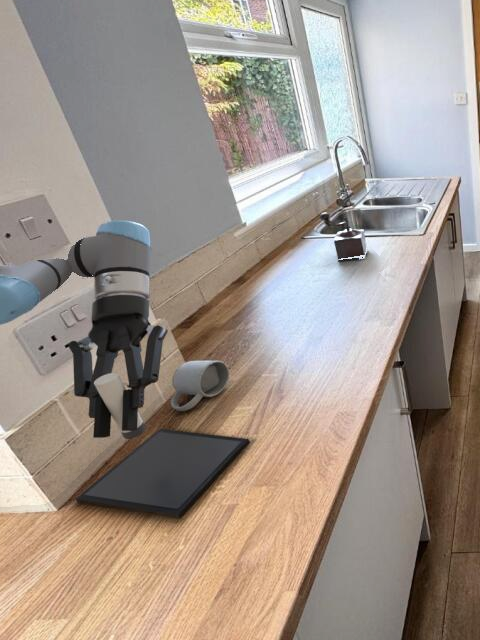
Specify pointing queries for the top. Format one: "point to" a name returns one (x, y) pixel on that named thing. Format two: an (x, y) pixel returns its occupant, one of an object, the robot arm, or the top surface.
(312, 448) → the top surface
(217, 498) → the top surface
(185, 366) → the ceramic mug
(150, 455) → the tablet
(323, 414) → the top surface
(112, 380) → the light grey elongated piece
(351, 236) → the black coffee grinder
